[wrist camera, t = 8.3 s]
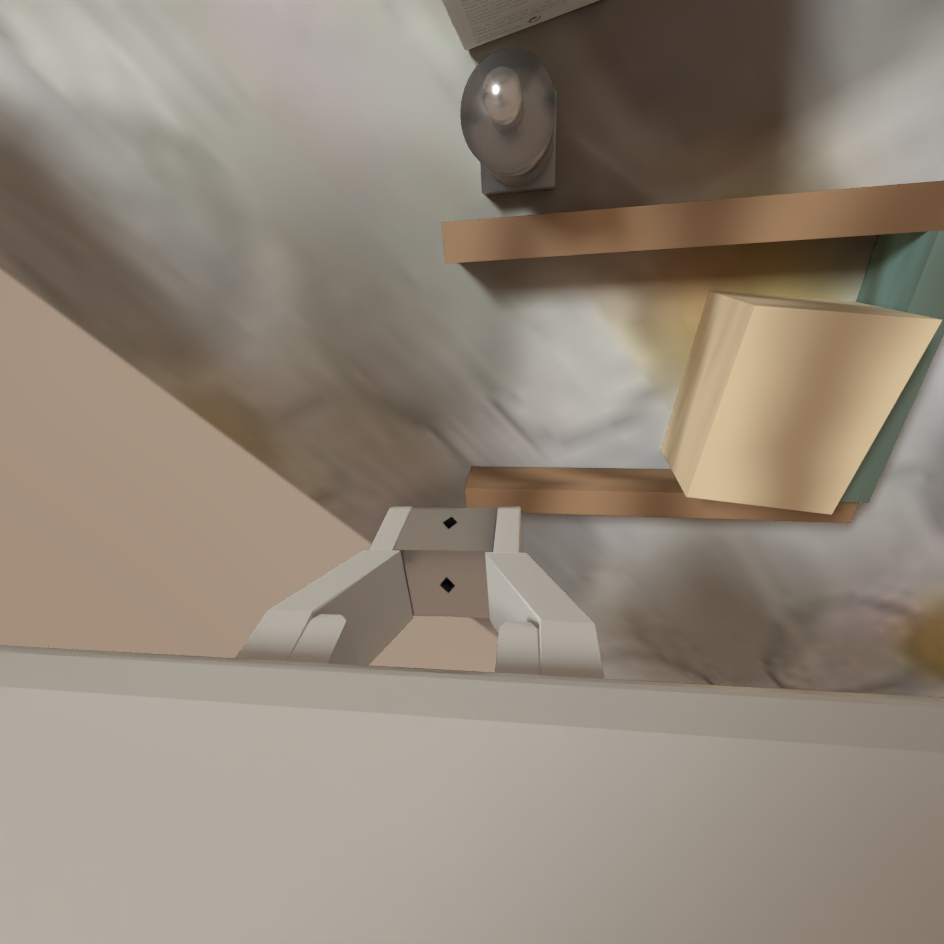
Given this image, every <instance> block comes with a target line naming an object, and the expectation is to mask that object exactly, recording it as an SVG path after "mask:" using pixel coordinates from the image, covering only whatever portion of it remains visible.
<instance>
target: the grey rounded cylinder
mask: <svg viewBox="0 0 944 944" xmlns="http://www.w3.org/2000/svg"><path fill="white" fill-rule="evenodd" d="M556 119H557V90H554V87H553V83H552V80H551V78H550V75H549V73H548V71H547V70H546V68H545V67H544V65H543V64H542V63H541V62H540V61H539V60H538V59H537V58H536V57H535V56H534V55H532V54H531V53H529V52H527V51H524V50H521V49H516V48H507V49H502V50H499V51H496V52H494V53H492V54H490V55H489V56H487V57H486V58H485V59H484V60H482V61H481V62H480V63H479V64H478V66H477V67H476V68H475V69H474V71H473V72H472V74H471V76H470V77H469V79H468V81H467V84H466V86H465V89H464V93H463V97H462V102H461V126H462V130H463V134H464V137H465V140H466V143H467V145H468V147H469V148H470V150H471V152H472V153H473V154H474V156H475V157H476V158H477V159H478V160H479V161H480V162H481V183H482V193H483V194H484V195H490V194H501V193H512V192H523V191H534V190H544V189H555V164H556Z"/></svg>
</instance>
